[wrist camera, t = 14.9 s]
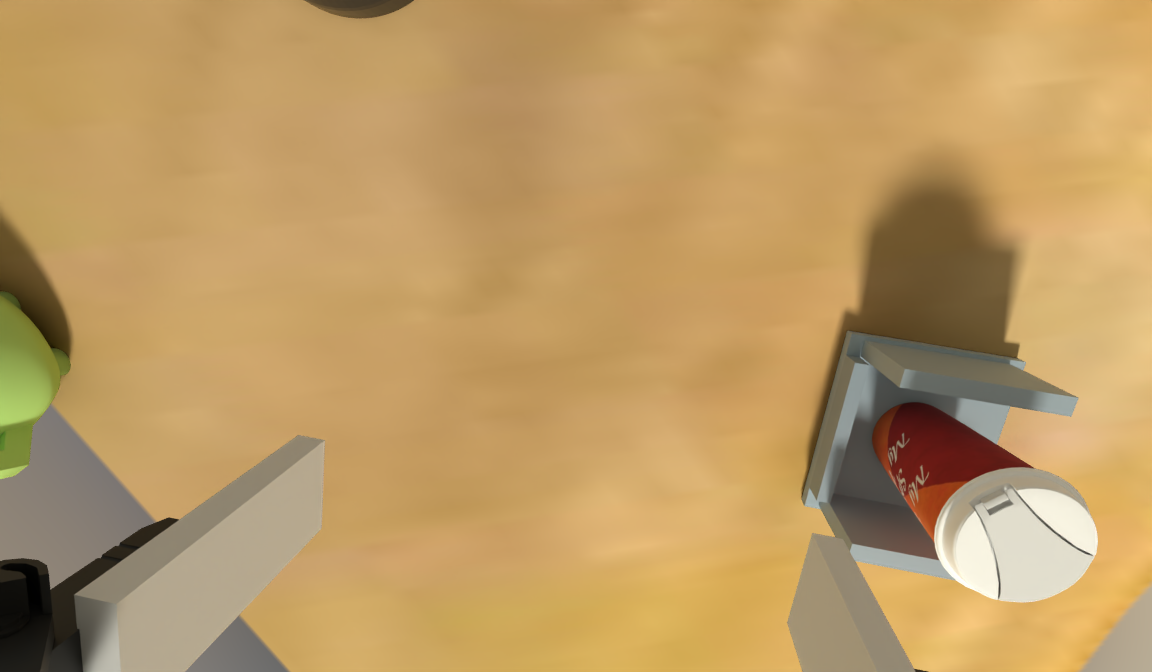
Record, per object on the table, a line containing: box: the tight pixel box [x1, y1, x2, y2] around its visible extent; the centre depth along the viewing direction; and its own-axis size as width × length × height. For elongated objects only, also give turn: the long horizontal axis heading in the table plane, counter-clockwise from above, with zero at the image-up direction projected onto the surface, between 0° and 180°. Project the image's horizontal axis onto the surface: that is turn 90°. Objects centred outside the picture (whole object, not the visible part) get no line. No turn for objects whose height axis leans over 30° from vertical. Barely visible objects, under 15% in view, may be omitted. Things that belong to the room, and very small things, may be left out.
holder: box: [802, 331, 1078, 581], centre depth 41 cm, size 14×12×8 cm
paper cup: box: [872, 402, 1098, 602], centre depth 37 cm, size 8×8×14 cm
